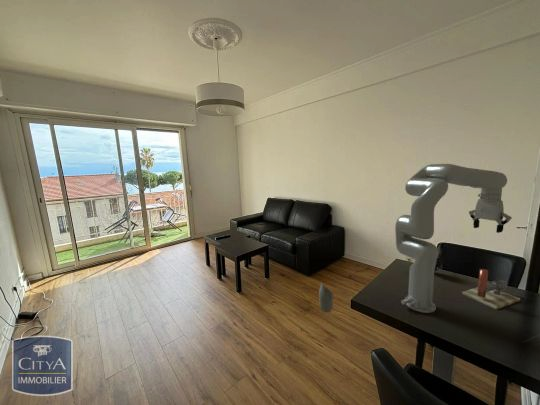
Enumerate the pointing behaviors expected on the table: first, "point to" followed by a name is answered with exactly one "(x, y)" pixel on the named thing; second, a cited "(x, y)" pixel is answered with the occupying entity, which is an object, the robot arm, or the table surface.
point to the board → (492, 298)
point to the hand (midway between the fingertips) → (487, 229)
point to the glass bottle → (325, 299)
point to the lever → (483, 284)
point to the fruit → (439, 262)
